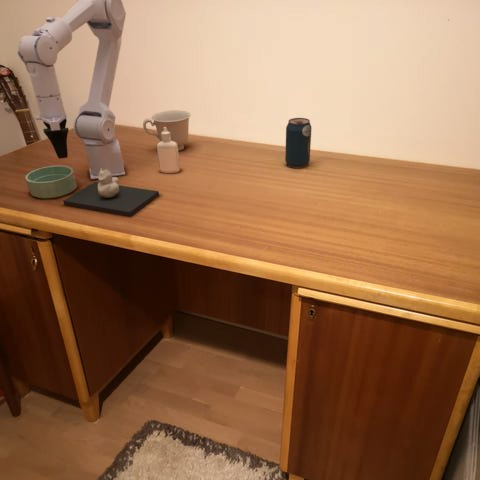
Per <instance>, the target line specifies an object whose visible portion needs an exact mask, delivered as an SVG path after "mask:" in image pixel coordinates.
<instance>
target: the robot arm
mask: <svg viewBox="0 0 480 480" xmlns="http://www.w3.org/2000/svg"><path fill="white" fill-rule="evenodd" d="M126 16H127V13H126V10H125V7H124V4H123V0H77V1H76V3H75V4H74V5H73V6H72V7H71V8H70V9H69V10H68V11H67V12H66V13H65V14H64V15H62V17H57V16H48V17H47V18H46V19H45V21H46V22H45V23H43V24H42V25H41V26H40V27H39V28H38V27H37V28H35V29H33V33H32V34H31V35H24V36H22V37H21V38H20V39H19V42H18V44H17V45H18V46H17V47H18V48H17V49H18V50H17V52H16V53H17V56H18V57H19V59H20V61H21V62H22V63H23V64H24V66H25V69H26V72H28V75H29V78H30V81H31V85H32V89H33V93H34V97H35V101H36V104H37V107H38V111H39V115H35V120H36V121H42V122H43V124H44V126H45V128H43V133H44V135H45V137H47V139H48V140H49V141H50V143H51V145H52V147H53V149H54V152H55V154H56V156H57V158H58V159H59V160H61V159H68V158H69V157H68V156H69V155H68V134H69V127H66V126H67V122H68V119H67V118H68V117H67V113H66V111H65V107H64V103H63V98H62V95H61V90H60V86H59V85H60V84H59V81H58V76H57V72H56V69H55V64H56V63H57V60H58V55H59V53H60V52H61V51H62V50H63V49H64V48H65V47H67V46H68V45H69V44H70V43H71V42H72V41H73V33H74V32H75V31H77V30H78V29H79V28H81V27H82V26H84V25H85V24H87V26H88V27H89V29H90V31H91V32H92V34H93V35H94V36H95V37H96V38H97V39H98V46H97V50H96V51H97V52H96V55H95V56H96V57H95V62H94V67H93V72H92V77H91V83H90V88H89V93H88V97H87V98H88V100H87V101H86V102H85V103H84V104H83V105H81V106H80V107H79V109H78V114H77V115H76V117H75V118H74V121H73V131H74V133H75V135H76V136H77V138H79V139H80V140H81V143H83V144H84V149H85V153H86V156H87V160H88V166H89V169H88V171H89V177H90V179H91V180H99V179H98V176H99V172H100V170H101V168H102V167H103V168H104V170H105V169H107V170H108V171H109V172H110V173H111V174H112V178H113V177H119V176H125V175H126V171H125V162H124V159H123V156H122V155H123V154H122V151H121V146H120V142H119V139H118V138H115V136H116V125H115V124H116V116H115V114H114V112H113V111H112V110H111V109H110V103H111V97H112V94H113V87H114V82H115V77H116V72H117V68H118V63H119V58H120V52H121V46H122V37H123V36H122V35H123V32H124V31H123V30H124V25H125V21H126ZM114 138H115V139H114Z"/></svg>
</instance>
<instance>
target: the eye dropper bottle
mask: <svg viewBox="0 0 480 480" xmlns="http://www.w3.org/2000/svg"><path fill="white" fill-rule="evenodd" d="M161 137H162V141H161V142H160V141H159V142H158V143H157V144H156V151H157V157H158V164H159V171H160V172H161V173H165V174H176V173H179V172H180V170H181V162H180V154H179V151H178V146H177V143H176V142H174V141H171V137H170V132H168V131H167V129H166V127H163V132H162V133H161Z"/></svg>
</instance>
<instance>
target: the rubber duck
mask: <svg viewBox="0 0 480 480" xmlns="http://www.w3.org/2000/svg"><path fill="white" fill-rule="evenodd" d="M97 180H98V182H100V183H98V192H99V194H100V195H101V196H102V197H106V198H111V197H113V196H115V195H116V194H117V193H119V185H120V184H119V178H118V176H113V177H112V174H111V173H110V172H109V171H108V170H107V169H105V170H104V168H103V167H102V168H101V170H100V172H99V176H98V179H97Z"/></svg>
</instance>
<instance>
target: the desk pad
mask: <svg viewBox="0 0 480 480" xmlns="http://www.w3.org/2000/svg"><path fill="white" fill-rule="evenodd" d="M98 183H100V181H94V182H92V183H90V184H89V185H87V186H85V187H84V188H82V189H80V190H79V191H77V192H76V193H75V192H74V193H73V194H71V195H70V196H68V197H67V198H65V199H64V200H63V205H64V206H67V207H68V206H69V207H74V208H79V209H85V210H91V211H95V212H103V213H108V214H112V215H113V214H114V215H120V216H126V217H130V218H131V217H132V216H134V215H135V214H136V213H138V212H139V211H140V210H142V209H144V208H145V207H146V206H148V205H149V204H150V203H152V201H154V200H155V199H157V198H158V197H159V196H160V191H159V190H155V189H147V188H142V187H141V188H140V187H133V186H128V185H127V186H126V185H120V184H118V185H119V193H117V194H116V195H115V196H113V197H111V198H106V197H102V196H101V195H100V194H99V192H98Z"/></svg>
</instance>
